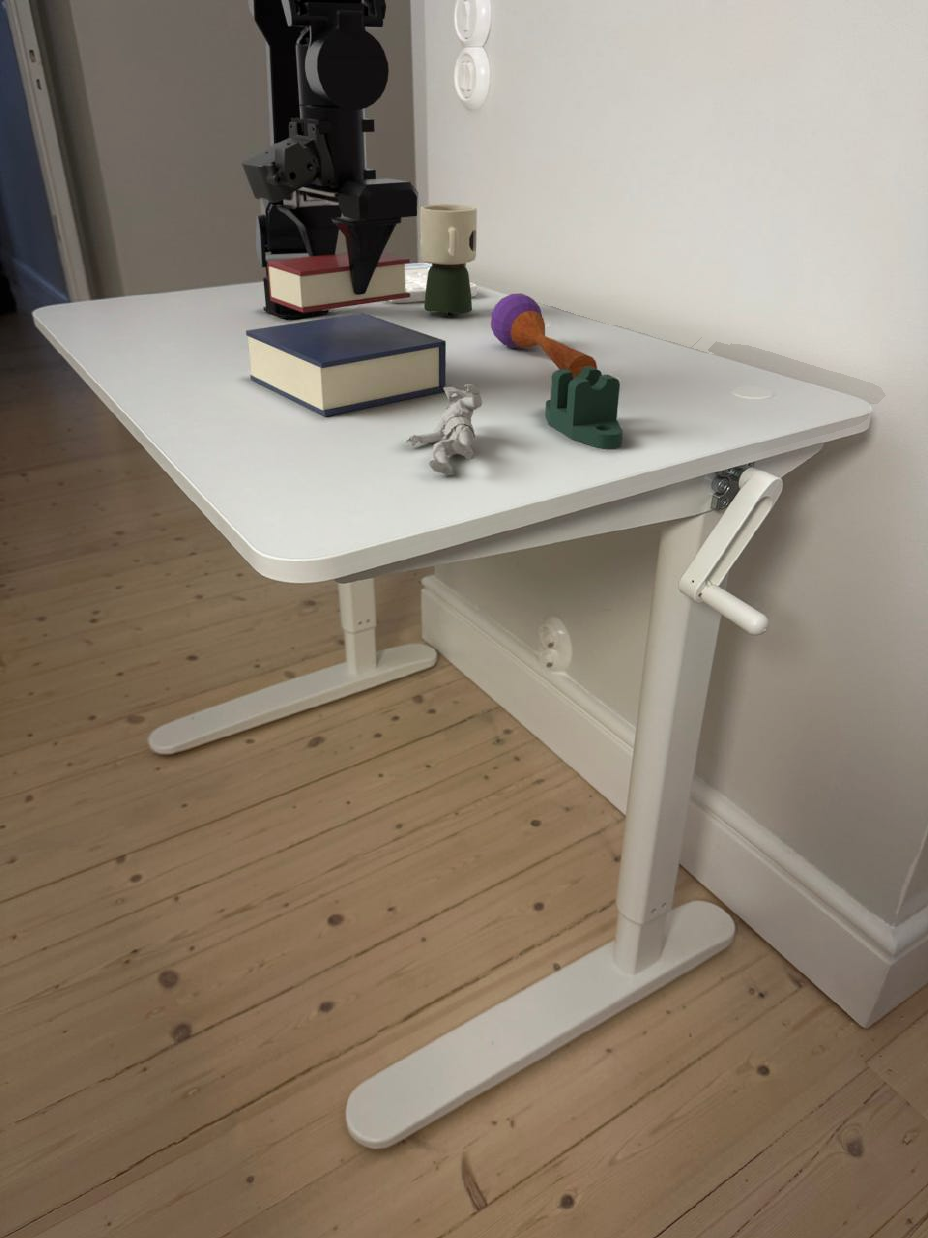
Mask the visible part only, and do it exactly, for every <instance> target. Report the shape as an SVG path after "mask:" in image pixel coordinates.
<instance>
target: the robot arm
mask: <svg viewBox="0 0 928 1238" xmlns="http://www.w3.org/2000/svg"><path fill="white" fill-rule="evenodd" d="M247 2H248V9H249V12H250V14H251V16H252V18H253V20H254V22H255V24H256V26H257V27H258V29H259V31H260V32H261V35H262V36H263V38H264V42H265V45H264V46H265V61H266V62H265V63H266V65H265V66H266V78H267V79H266V83H267V85H266V86H267V102H268V103H267V104H268V121H269V122H268V123H269V140H270V141H269V144H270V146H267V147H265V148H264V149H262V150H260V151H258V152H256V153H254V154H252V155H249V156H248V157H246V158H244V159H243V160H241V162H240V164H241V167H242V169H243V172H244V174H245V177H246V179H247V182H248V184H249V188H250V190H251V192H252V194H253V197H254V199H257V200H259V203H260V214H256V219H255V249H256V257H257V263H258V265H260V267H261V268H265V275H264V276H263V278H262V282H263V293H264V302H265V303H264V304H265V306H262V308H263V309H262V311H264V312H266V313H268V314H271V315H274V316H277V317H278V318H282V319H285V320H290V319H291V320H292V319H299V318H304V317H311V316H318V315H323V314H329V313H330V309H326V310H319V311H312V312H306V313H303V312H300V311H297V310H295V309H292V308H289V307H286V306H284V305H281V304H278V303H276V302H273V301H270V291H269V280H268V268H267V261H275V260H284V259H293V258H302V257H312V256H321V255H330V254H336V251H337V246H338V239H339V233H342V234H343V236H344V238H345V244H346V251H347V252H346V253H348V260H349V268H350V276H351V282H352V287H353V292H354V294H356V295H361V294H365V293H366V290H367V288H368V286H369V283H370V281H371V278H372V276H373V274H374V271H375V269H376V266H377V264H378V262H379V259H380V257H381V255H382V252H384V250H385V248H386V246H387V244H388V242H389V240H390V238H391V236H392V234H393V232H394V230H395V228H396V226H397V224H401V223H402V222H403V218H410V217H411V218H412V217H418V216H420V214H419V213H420V208H419V205H420V204H419V202H420V201H419V200H420V199H419V198H420V197H419V191H418V190H417V188H416V187H415V186H414V185H413V183H412V182H411V181H407V180H401V179H395V178H389V177H386V178H377V169H374V168H373V169H372V168H367V146H366V133H375V118H365V117H366V116H365V109H367V108H369V107H371V106H373V105H374V104H375V103H376V102H377V101H378V100H380V98H381V97H382V95H383V93H384V91H386V87H387V84H388V81H389V72H390V71H389V61H388V59H387V55H386V53H385V50H384V48H383V47H382V45H381V43H380V42H379V40H378V39H377V38H376V37H375V35H373V34H371V33H370V32H369V31H367V30H366V29H382V28H384V20H385V18H386V12H387V3H386V0H248V1H247ZM266 253H269V254H268V255H267V254H266Z"/></svg>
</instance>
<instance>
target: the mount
mask: <svg viewBox="0 0 928 1238" xmlns="http://www.w3.org/2000/svg"><path fill="white" fill-rule="evenodd" d="M620 386H621V382H620V380H619V379H618V378H616V377H614V376H612V375H609V374H603V373H602V371H601V369H598V368H597V369H596V368H594V367H592V366H586V367H583V368H582V371H581V373H580V374H579V375H578V376H577V377H574V378H573V375H572V372H571V371H569V370H567V369H560V370H559V369H556V370H555V371H554V372H553V373H552V375H551V386H550V399H547V400H546V401H545V413H544V414H545V419H546V422H547V424H548V425H549V427H551V428H553V429H555V430H556V431H558V432H559V433H561V434H562V435H564V436H566V437H568V438H569V439H570V440H572V441H576V442H579V443H583V444H585V445H589V446H592V447H595V448H598V449H604V450H605V449H606V450H609V449H611V450H613V449H617V448H621V446H622V443H623V432H624V430H623V428H622V426H621V425H620V423H619V422H618V420H617V419H618V418H617V417H618V409H619V397H620V388H621V387H620Z"/></svg>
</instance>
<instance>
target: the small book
mask: <svg viewBox="0 0 928 1238" xmlns="http://www.w3.org/2000/svg"><path fill="white" fill-rule="evenodd" d="M405 264H411V261H410V258H408V257H404V256H399V255H395V254H392V253H389V252H388V253H387V252H384V251H383V252H382V255H381V257H380V259H379V262H378V264H377V266H376V269H375V271H374V274H373V276H372V278H371V281H370V283H369V286H368V288H367V290H366V293H365V294H361V295H356V294H354V292H353V287H352V282H351V276H350V268H349V260H348V253H347V252H340V253H339V252H338V253H335V254H330V255H321V256H312V257H302V258H293V259H284V260H275V261H267V268H268V280H269V291H270V301H273V302H276V303H278V304H281V305H284V306H286V307H289V308H292V309H295V310H297V311H300V312H303V313H306V312H312V311H319V310H326V309H329V310H333V309H338V308H346V307H353V306H359V305H367V304H373V303H380V302H389V301H388V300H395V299H402V298H409V297H410V293H407V292H405Z"/></svg>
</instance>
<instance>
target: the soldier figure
mask: <svg viewBox="0 0 928 1238" xmlns="http://www.w3.org/2000/svg"><path fill="white" fill-rule="evenodd" d="M463 387H466V390H462V389H458V388H456V387H455V386H446V387H444V391H443V392H444V393H445V395H446V397H447V400H448V402H449V403H450V404H449V405H447V406H446V407H445V411H444V412H443V413H442V415H441V417H440V420H439V422H438V425H436V428H435V430H434V431H433V432H430V433H427V434H426V433H425V434H420V435H416V434H412V435H410V436H408V438H407V439H406V440H405V444H407V443H411V447H414V446H415V445H416V444H417V443H419V444H432V443H434V444H433V447H432V457H433V459H432V460H430V461H429V467H430V468H431V469H432V470H433V471H434V472H436V473H441V474H444V476H448V477H449V476H453V474H454V469H453V467H452V465H451V463H450V460H449V457H450V456H456V455H461V456H463V457H464V458H465V459H466V460H467V459H468V460H472V459H474V457H475V453H474V451H473V449H472V444H473V443H474V440H475V438H476V434H475V429H474V427H473V424H472V417H473V414H474V412H475V411H476V410H477V409H479V408H481V407H482V405H483V398H482V395H481V393H480V389H478V388H477V386H476V385H474V384H470V383H467V384H464V385H463ZM443 438H445V439H443Z"/></svg>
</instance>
